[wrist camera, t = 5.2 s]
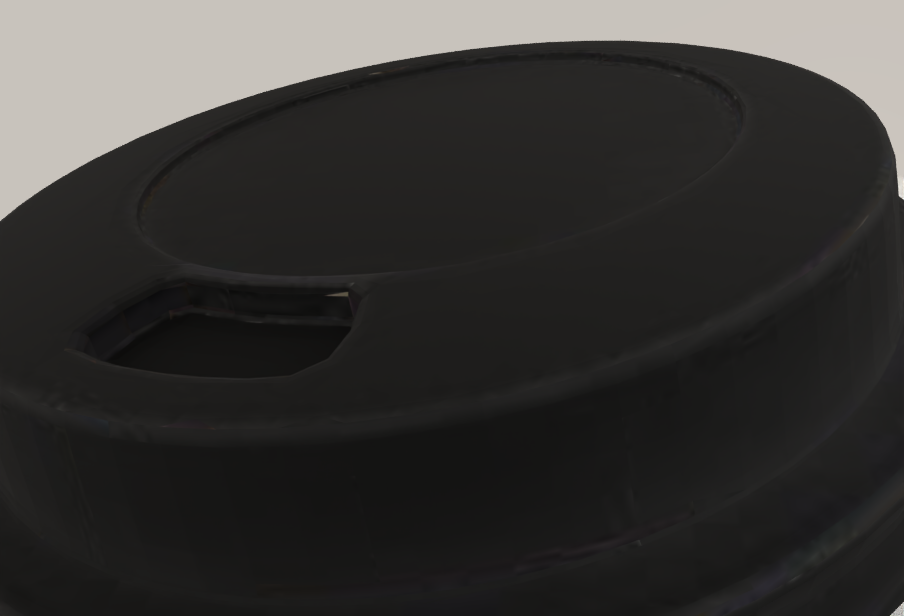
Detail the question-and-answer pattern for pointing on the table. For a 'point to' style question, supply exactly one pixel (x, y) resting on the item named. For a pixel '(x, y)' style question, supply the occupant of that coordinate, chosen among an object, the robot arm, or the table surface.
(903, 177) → the table surface
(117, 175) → the coffee cup
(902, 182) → the table surface
